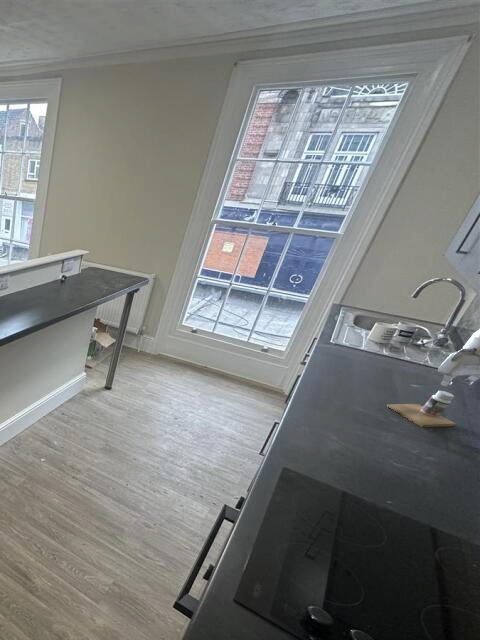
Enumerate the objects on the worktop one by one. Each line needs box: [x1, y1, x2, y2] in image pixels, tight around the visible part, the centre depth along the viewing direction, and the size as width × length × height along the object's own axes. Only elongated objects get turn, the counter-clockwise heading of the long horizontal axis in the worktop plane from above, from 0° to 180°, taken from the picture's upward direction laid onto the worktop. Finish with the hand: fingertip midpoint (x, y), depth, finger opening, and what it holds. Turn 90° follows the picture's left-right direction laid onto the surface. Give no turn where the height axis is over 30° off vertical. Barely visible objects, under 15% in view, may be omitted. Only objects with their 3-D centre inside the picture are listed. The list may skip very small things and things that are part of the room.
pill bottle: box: [421, 390, 455, 417], centre depth 139 cm, size 5×5×8 cm
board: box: [386, 403, 457, 428], centre depth 141 cm, size 12×14×1 cm
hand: (455, 385), depth 135 cm, fingers open, 8 cm apart
